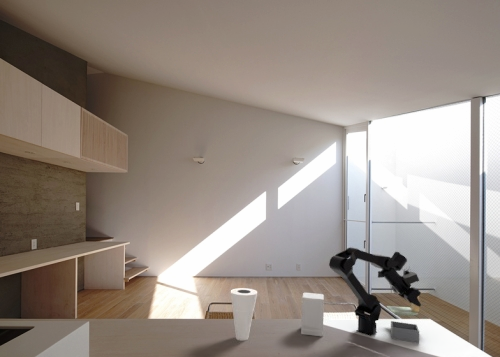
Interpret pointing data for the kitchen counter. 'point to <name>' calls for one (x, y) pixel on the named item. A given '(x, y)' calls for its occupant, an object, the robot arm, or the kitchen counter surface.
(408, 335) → the tub
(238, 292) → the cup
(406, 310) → the lid
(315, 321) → the supplement box
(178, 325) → the kitchen counter surface
